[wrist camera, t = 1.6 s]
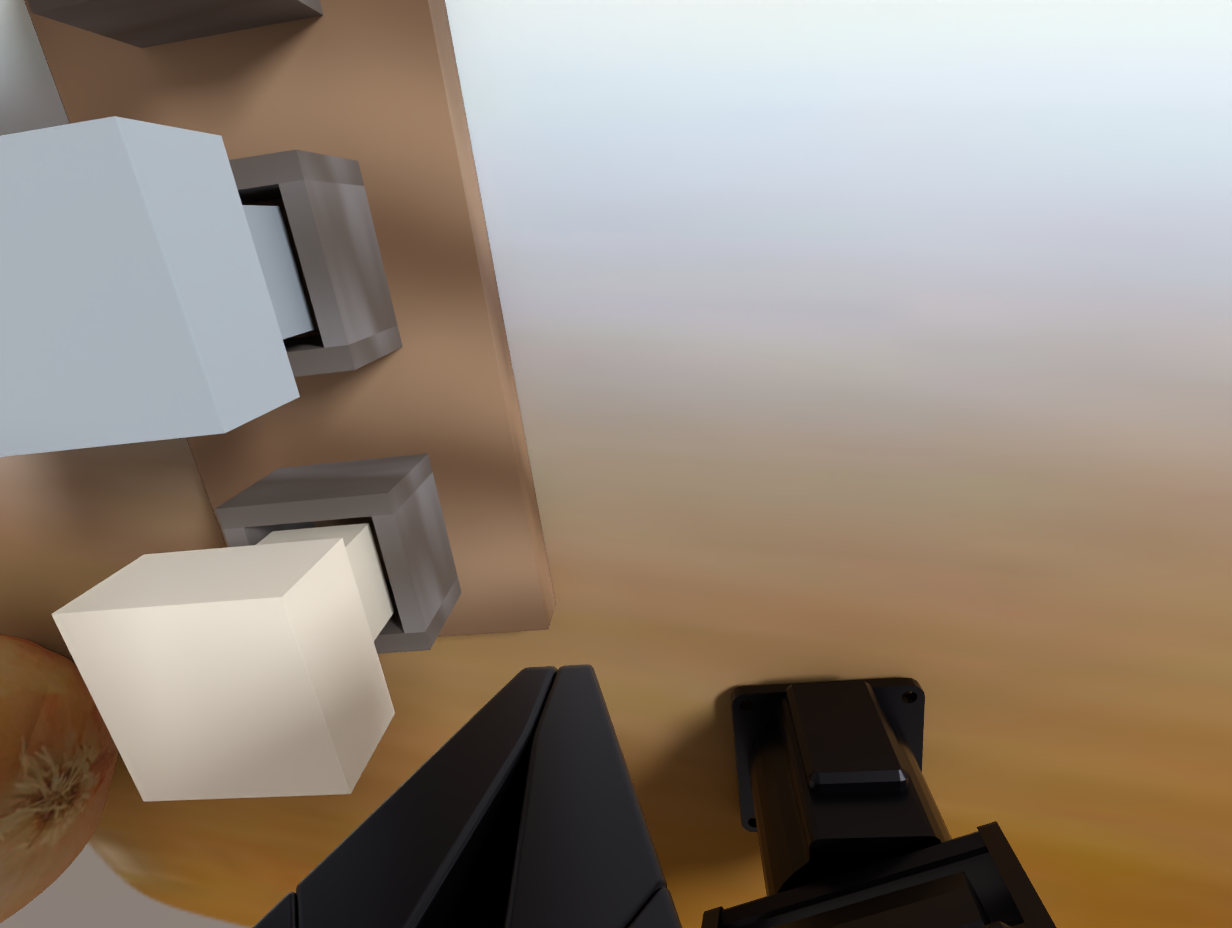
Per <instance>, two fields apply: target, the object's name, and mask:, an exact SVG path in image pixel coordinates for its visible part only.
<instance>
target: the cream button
mask: <svg viewBox="0 0 1232 928" xmlns="http://www.w3.org/2000/svg"><path fill="white" fill-rule="evenodd" d="M393 613H394V609H393V605H392V602H391V598H390V595H389V591H388V588H387V584H386V581H385V577H384V574H383V570H382V566H381V563H380V559H379V556H378V552H377V549H376V545H375V542H374V538H373V535H372V531H371V528H370V524H369V523H363V524H352V525H340V526H329V527H317V528H306V529H294V530H283V531H272V532H271V533H270V534H269V535H267V536H266V537H265V538H264V539H262V540H261V541H260V542H259V543H257V544H256V545H251V546H239V547H227V548H215V549H204V550H192V551H180V552H168V553H156V554H144V555H142V556H141V557H139V558H138V559H136V560H135V561H133V562H132V563H130V564H128V565H127V566H125V567H124V568H122V569H121V570H119V571H118V572H116V573H114V574H113V575H111V576H110V577H108V578H107V579H105V580H104V581H102V582H100V583H99V584H97V585H96V586H94V587H93V588H91V589H90V590H88V591H86V592H85V593H83V594H82V595H80V596H79V597H77V598H76V599H74V600H72V601H71V602H69V603H68V604H66V605H65V606H63V607H62V608H60V609H58V610H57V611H55V612H54V613H52V614H51V615H52V617H53V619H54V621H55V623H56V625H57V627H58V629H59V631H60V633H61V635H62V637H63V639H64V641H65V643H66V645H67V647H68V649H69V651H70V653H71V655H72V657H73V659H74V661H75V663H76V665H77V668H78V670H79V672H80V674H81V676H82V678H83V680H84V682H85V684H86V686H87V688H88V690H89V692H90V694H91V696H92V698H93V700H94V702H95V704H96V706H97V708H98V710H99V712H100V714H101V716H102V718H103V720H104V722H105V724H106V726H107V728H108V730H109V732H110V734H111V737H112V739H113V741H114V743H115V745H116V747H117V749H118V751H119V753H120V755H121V757H122V759H123V761H124V763H125V765H126V767H127V769H128V771H129V773H130V775H131V777H132V779H133V781H134V783H135V785H136V787H137V789H138V791H139V793H140V795H141V797H142V799H143V801H144V802H146V801H173V800H200V799H227V798H254V797H281V796H308V795H334V794H351V792H352V791H353V789H354V787H355V785H356V783H357V781H358V780H359V778H360V776H361V774H362V772H363V771H364V769H365V767H366V765H367V763H368V762H369V760H370V758H371V756H372V754H373V752H374V751H375V749H376V747H377V745H378V743H379V742H380V740H381V738H382V736H383V734H384V733H385V731H386V729H387V727H388V725H389V723H390V722H391V720H392V718H393V716H394V714H395V711H394V708H393V704H392V701H391V698H390V694H389V691H388V688H387V684H386V681H385V678H384V674H383V671H382V668H381V664H380V661H379V658H378V655H377V651H376V648H375V645H374V640H375V639H376V638H377V636H378V635H379V633H380V632H381V630H382V629H383V628H384V626H385V625H386V623H387V622H388V620H389V619H390V617H391V616H392V615H393Z"/></svg>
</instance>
